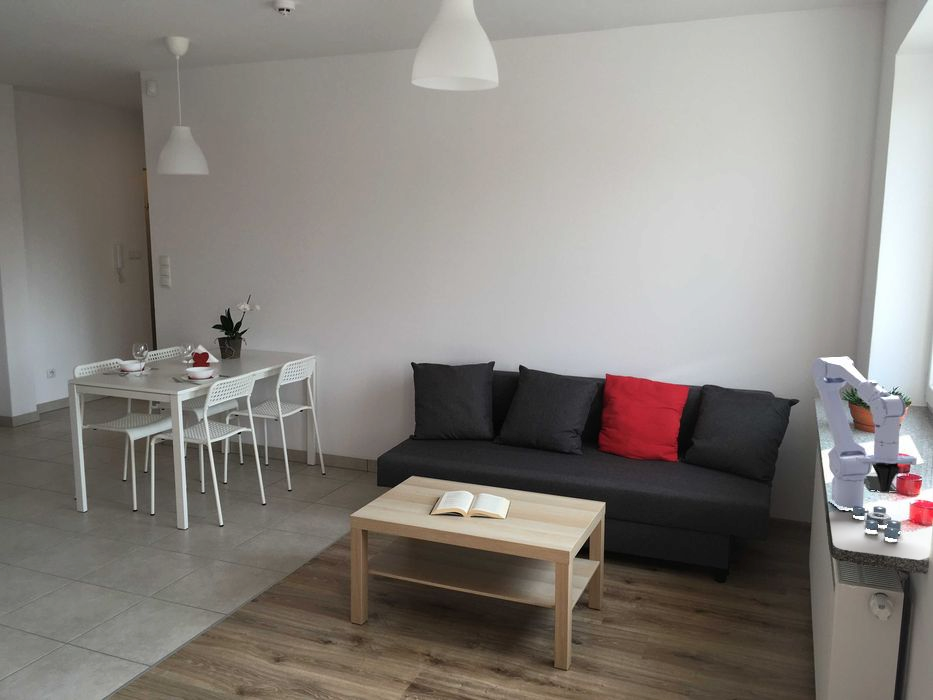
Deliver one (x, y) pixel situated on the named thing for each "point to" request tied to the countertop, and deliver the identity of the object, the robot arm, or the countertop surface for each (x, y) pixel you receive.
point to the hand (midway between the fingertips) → (884, 490)
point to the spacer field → (891, 528)
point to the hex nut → (879, 517)
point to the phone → (875, 483)
